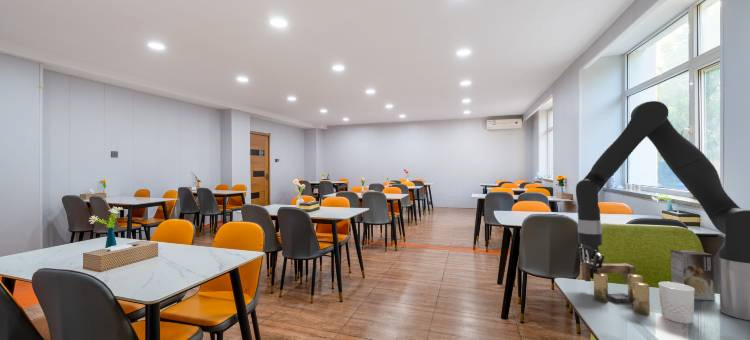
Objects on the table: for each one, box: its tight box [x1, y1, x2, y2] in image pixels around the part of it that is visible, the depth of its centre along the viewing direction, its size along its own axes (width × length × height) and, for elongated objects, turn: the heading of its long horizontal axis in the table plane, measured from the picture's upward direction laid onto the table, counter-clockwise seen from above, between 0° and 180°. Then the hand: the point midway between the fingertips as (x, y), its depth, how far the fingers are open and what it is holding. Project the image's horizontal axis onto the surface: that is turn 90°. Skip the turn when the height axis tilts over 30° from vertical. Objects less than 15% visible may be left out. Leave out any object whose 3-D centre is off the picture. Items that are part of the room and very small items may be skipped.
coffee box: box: [670, 249, 716, 301], centre depth 112 cm, size 9×6×16 cm
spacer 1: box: [593, 273, 609, 303], centre depth 109 cm, size 4×4×9 cm
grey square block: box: [608, 293, 630, 305], centre depth 108 cm, size 4×4×2 cm
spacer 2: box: [627, 273, 644, 304], centre depth 107 cm, size 4×4×9 cm
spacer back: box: [632, 282, 651, 316], centre depth 99 cm, size 4×4×9 cm
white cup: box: [658, 281, 695, 325], centre depth 94 cm, size 8×8×10 cm
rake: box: [581, 262, 636, 283], centre depth 116 cm, size 16×5×6 cm, turn 82°
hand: (591, 277), depth 117 cm, fingers closed on rake, 3 cm apart
